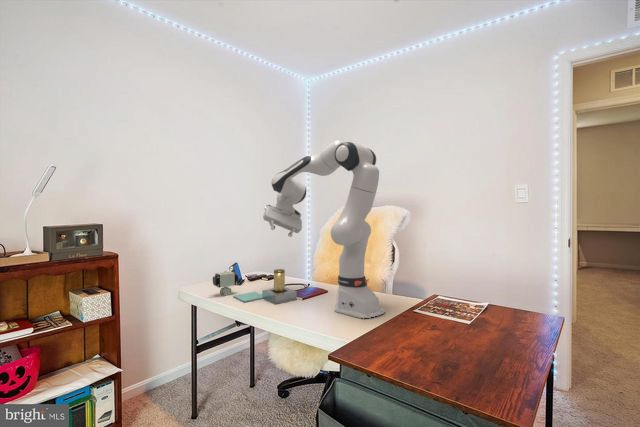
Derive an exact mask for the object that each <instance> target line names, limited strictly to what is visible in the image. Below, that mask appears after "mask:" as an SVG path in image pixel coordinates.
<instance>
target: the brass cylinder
mask: <svg viewBox="0 0 640 427" xmlns="http://www.w3.org/2000/svg"><path fill="white" fill-rule="evenodd" d="M285 271H286V270H285V269H283V268H278V269H274V270H273V288H274V292H275V293H282V292H285V287H286V277H285V276H286V272H285Z"/></svg>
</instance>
